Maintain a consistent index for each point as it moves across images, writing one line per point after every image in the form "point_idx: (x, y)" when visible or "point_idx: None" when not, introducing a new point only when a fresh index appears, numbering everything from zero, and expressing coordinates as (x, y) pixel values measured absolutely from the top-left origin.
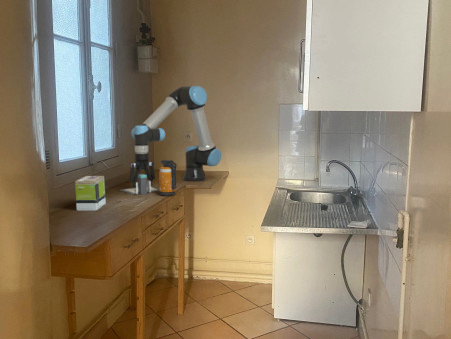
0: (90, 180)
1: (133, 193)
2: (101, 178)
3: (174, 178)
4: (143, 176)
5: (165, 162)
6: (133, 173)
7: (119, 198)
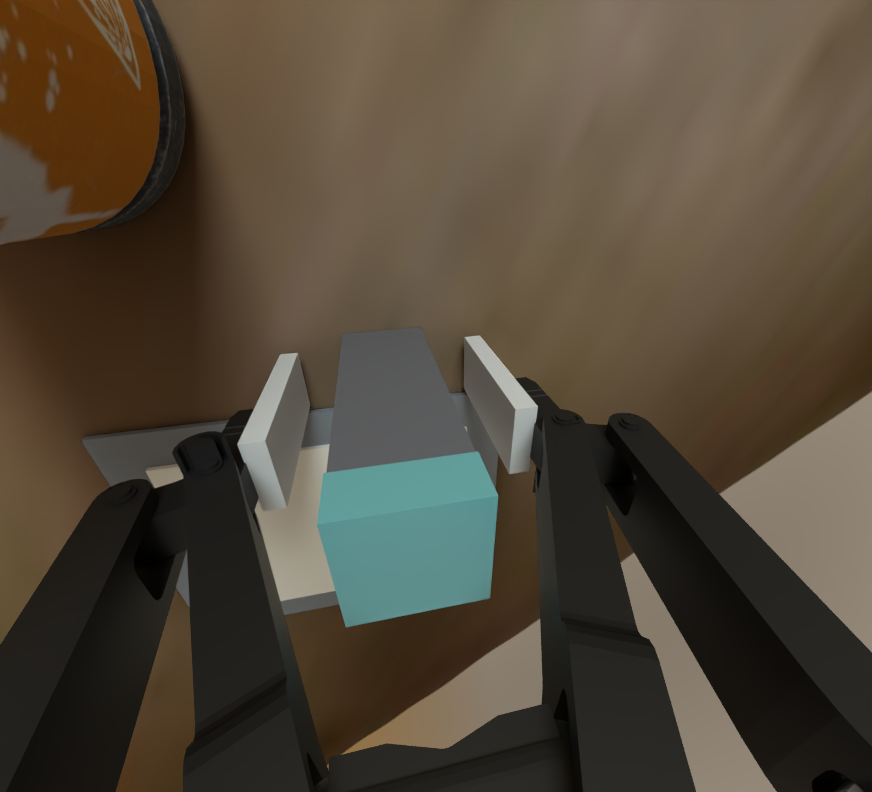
0: None
1: None
2: None
3: None
4: (415, 483)
5: None
6: (714, 538)
7: (704, 252)
